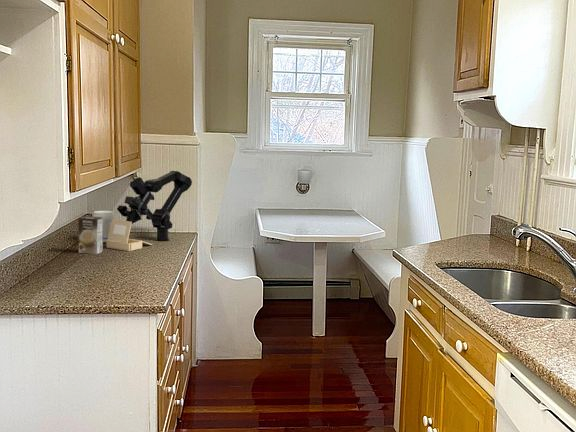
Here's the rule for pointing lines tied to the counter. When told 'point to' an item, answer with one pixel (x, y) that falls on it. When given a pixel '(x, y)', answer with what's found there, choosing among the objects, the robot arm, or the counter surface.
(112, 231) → the flap
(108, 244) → the carton
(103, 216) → the supplement tub
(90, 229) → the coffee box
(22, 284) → the counter surface
